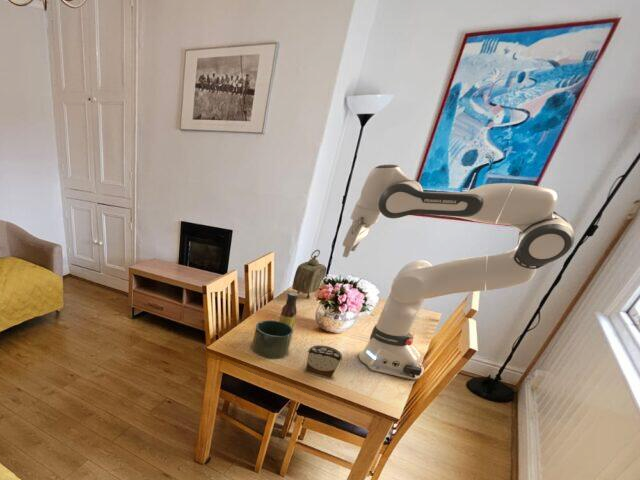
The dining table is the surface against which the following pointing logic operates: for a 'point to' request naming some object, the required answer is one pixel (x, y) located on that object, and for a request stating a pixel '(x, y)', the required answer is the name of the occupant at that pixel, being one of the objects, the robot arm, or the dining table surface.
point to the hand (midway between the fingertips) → (348, 253)
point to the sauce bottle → (289, 310)
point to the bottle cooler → (272, 339)
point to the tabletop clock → (309, 276)
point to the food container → (323, 360)
